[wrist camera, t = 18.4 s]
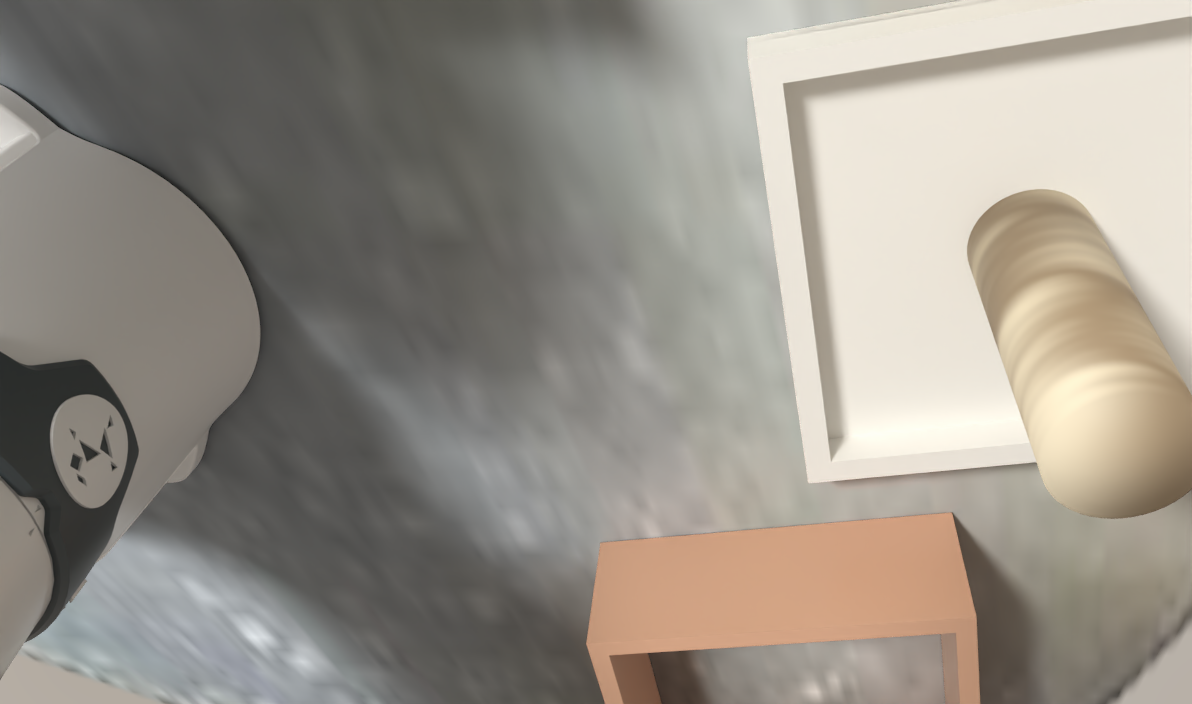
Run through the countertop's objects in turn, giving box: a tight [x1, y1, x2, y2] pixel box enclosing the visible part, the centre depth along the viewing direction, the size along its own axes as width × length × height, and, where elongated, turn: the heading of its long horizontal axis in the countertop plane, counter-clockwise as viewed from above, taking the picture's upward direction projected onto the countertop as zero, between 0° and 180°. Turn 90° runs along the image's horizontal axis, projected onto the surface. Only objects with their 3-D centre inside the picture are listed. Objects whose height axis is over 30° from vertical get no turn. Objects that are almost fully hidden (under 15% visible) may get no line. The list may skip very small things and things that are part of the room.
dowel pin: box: [967, 189, 1192, 519], centre depth 35 cm, size 4×4×12 cm
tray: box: [747, 0, 1192, 483], centre depth 40 cm, size 18×18×2 cm
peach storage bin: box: [586, 513, 980, 704], centre depth 52 cm, size 16×16×6 cm
